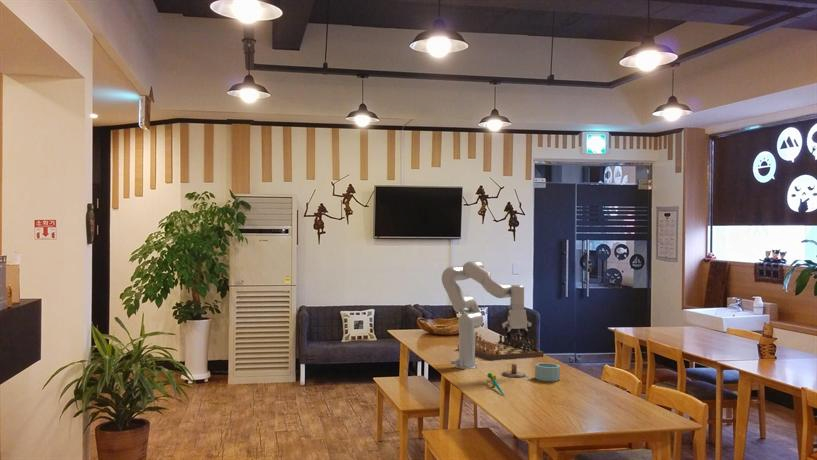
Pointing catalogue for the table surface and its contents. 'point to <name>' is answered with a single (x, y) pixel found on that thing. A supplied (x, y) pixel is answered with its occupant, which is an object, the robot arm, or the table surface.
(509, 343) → the chess set
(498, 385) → the toy sword
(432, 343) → the table surface
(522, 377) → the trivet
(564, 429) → the table surface
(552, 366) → the bowl
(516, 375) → the lid
